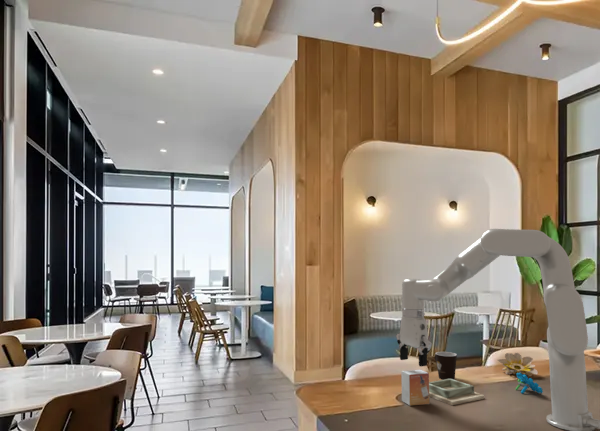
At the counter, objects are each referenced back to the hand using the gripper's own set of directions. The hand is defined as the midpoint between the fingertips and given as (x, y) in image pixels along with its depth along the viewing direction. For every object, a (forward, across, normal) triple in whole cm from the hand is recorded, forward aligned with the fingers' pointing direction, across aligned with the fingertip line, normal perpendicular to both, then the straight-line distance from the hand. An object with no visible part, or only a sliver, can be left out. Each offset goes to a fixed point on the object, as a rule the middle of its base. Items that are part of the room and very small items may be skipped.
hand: (413, 362), depth 153 cm
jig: (+13, 0, -18) cm, 22 cm away
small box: (+14, -1, 0) cm, 14 cm away
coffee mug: (+14, +18, -34) cm, 41 cm away
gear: (+13, -12, -46) cm, 49 cm away
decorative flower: (+13, +7, -65) cm, 67 cm away
